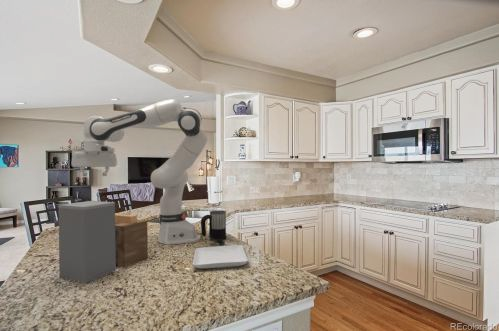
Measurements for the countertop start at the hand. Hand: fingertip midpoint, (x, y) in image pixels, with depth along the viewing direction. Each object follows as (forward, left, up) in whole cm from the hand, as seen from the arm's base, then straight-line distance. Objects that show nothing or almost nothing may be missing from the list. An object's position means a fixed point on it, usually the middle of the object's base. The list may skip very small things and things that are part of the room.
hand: (94, 176), depth 134 cm
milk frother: (-61, +2, -35) cm, 70 cm away
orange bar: (-16, +20, -19) cm, 32 cm away
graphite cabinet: (-12, +37, -35) cm, 52 cm away
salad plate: (-61, +31, -36) cm, 77 cm away
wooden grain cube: (-21, +23, -35) cm, 47 cm away
